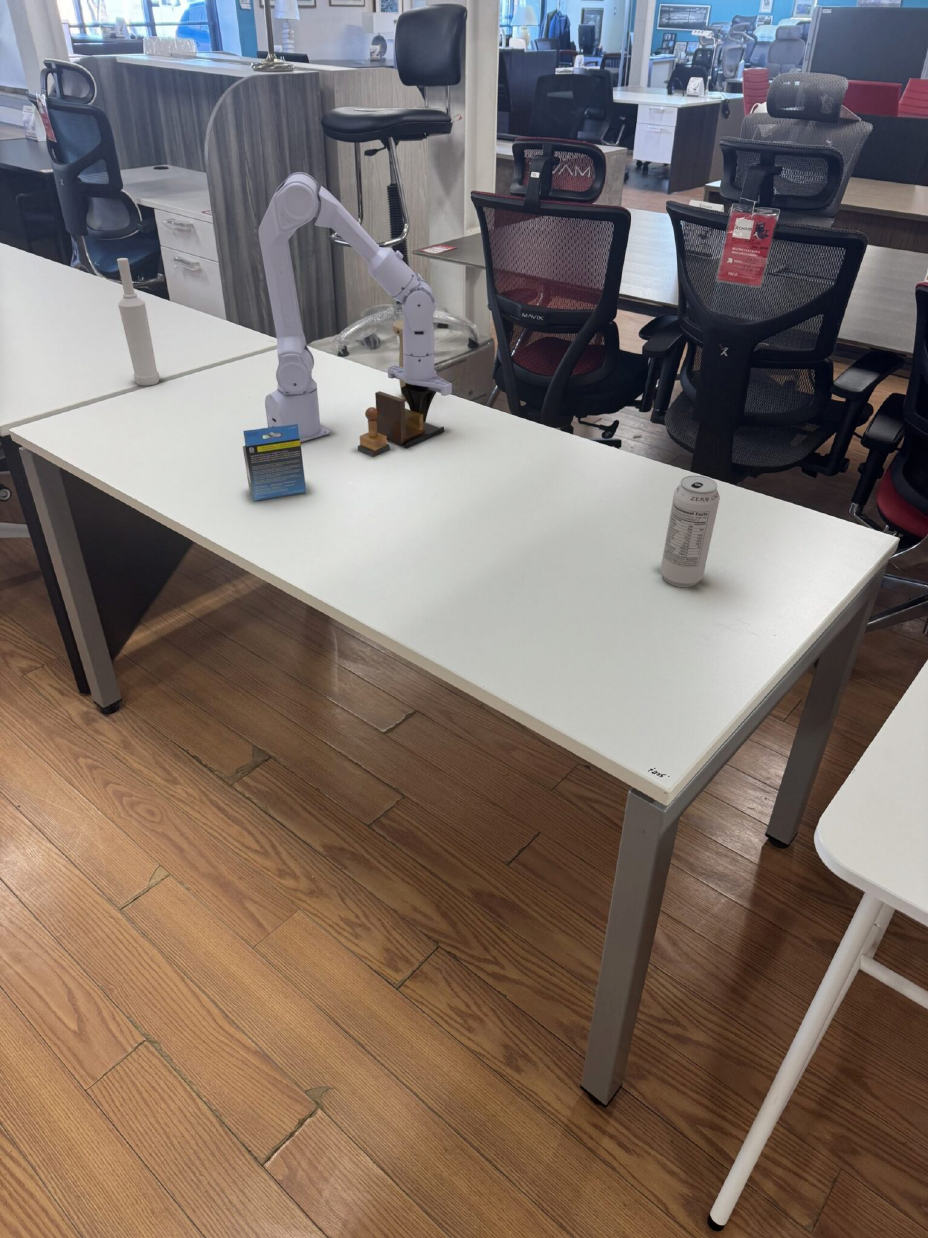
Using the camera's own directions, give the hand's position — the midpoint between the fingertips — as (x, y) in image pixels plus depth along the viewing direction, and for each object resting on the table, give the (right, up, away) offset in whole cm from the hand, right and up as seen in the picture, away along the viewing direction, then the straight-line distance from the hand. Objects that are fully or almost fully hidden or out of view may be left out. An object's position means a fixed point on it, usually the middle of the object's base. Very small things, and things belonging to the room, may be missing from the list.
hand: (419, 422), depth 162 cm
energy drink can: (+40, -32, -41) cm, 65 cm away
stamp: (-6, -4, -6) cm, 9 cm away
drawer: (-3, -3, -3) cm, 5 cm away
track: (-2, -2, -1) cm, 3 cm away
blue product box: (-23, -17, -21) cm, 35 cm away
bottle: (-60, +13, +20) cm, 65 cm away
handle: (-3, +8, +15) cm, 17 cm away
